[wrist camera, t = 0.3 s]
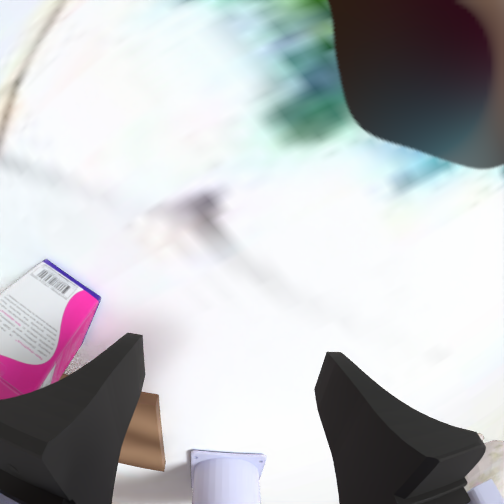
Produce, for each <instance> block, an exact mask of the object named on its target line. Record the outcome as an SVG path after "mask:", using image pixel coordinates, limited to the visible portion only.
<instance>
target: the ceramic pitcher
mask: <svg viewBox="0 0 504 504" xmlns="http://www.w3.org/2000/svg"><path fill="white" fill-rule="evenodd" d="M478 435H479V437H480V438H481V440H482V441H483V439H484V436H483V435H482V434H480V433H478ZM484 444H485V446H486V451H485V454H484V455H483V457H482V458H481V460H480V461H479V462H478V463H477V464H476V466H475V467H474V468H473V469H472V470H471V471H470V472H469V473H468V474H467V475H466V476H465V479H466V480H467V482H468V483H467V485H466V486H465V487H464V488H465V490H466V492H467V491H469V490H470V489H472V488H473V487H475V486H477V485H479V484H481V483H483V482H485V481H487V480H489V479H492V480H493V482H494V484H495V485H496V487H497V489H498V490H499V492H500V494H501V495H502V497H503V499H504V441H497V440H495V441H490V442H487V443H484Z"/></svg>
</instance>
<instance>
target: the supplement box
mask: <svg viewBox="0 0 504 504" xmlns="http://www.w3.org/2000/svg"><path fill="white" fill-rule="evenodd" d="M100 300H101V297H100V296H99V295H97V294H96V293H94V292H93V291H91V290H90V289H88V288H87V287H85V286H84V285H82V284H81V283H80V282H78V281H76V280H75V279H74V278H72V277H71V276H69V275H68V274H66V273H65V272H64V271H62V270H61V269H59V268H58V267H57V266H55V265H54V264H53V263H51V262H50V261H49V260H47V259H45V260H44V261H42V262H41V263H39V264H38V265H37V266H35V267H34V268H33V269H31V270H30V271H29V272H27V273H26V274H25V275H23V276H22V277H21V278H20V279H18V280H17V281H16V282H15V283H13V284H12V285H11V286H10V287H8V288H7V289H6V290H5V291H3V292H2V293H1V294H0V400H1V399H7V398H12V397H16V396H19V395H23V394H26V393H30V392H33V391H35V390H38V389H41V388H43V387H45V386H48V385H50V384H53V383H55V382H57V381H59V379H60V377H61V376H62V374H63V373H64V371H65V369H66V368H67V366H68V365H69V363H70V362H71V360H72V359H73V357H74V355H75V354H76V352H77V351H78V349H79V348H80V346H81V345H82V343H83V340H84V338H85V335H86V333H87V331H88V328H89V326H90V324H91V321H92V319H93V317H94V315H95V312H96V310H97V308H98V305H99V303H100Z"/></svg>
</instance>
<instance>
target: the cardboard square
mask: <svg viewBox="0 0 504 504" xmlns="http://www.w3.org/2000/svg"><path fill="white" fill-rule="evenodd" d="M67 376H69V375H66V374H62V376H61V377H60V379H59V380H61V379H63V378H65V377H67ZM118 463H122V464H127V465H131V466H136V467H141V468H146V469H151V470H157V471H163V472H164V469H165V463H166V461H165V454H164V446H163V437H162V428H161V418H160V406H159V395H158V394H151V393H146V392H141V394H140V398H139V400H138V403H137V406H136V408H135V411H134V414H133V416H132V419H131V421H130V424H129V427H128V429H127V432H126V435H125V438H124V441H123V444H122V447H121V452H120V456H119V461H118Z"/></svg>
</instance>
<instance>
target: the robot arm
mask: <svg viewBox="0 0 504 504" xmlns="http://www.w3.org/2000/svg"><path fill="white" fill-rule="evenodd" d="M144 378H145V367H144V353H143V336H142V335H138V334H132V333H127V334H125V335H124V336H123V337H122V338H120V339H119V340H118V341H117V342H115V343H114V344H113V345H112V346H110V347H109V348H108V349H107V350H105V351H104V352H103V353H101V354H100V355H99V356H97V357H96V358H95V359H93V360H92V361H91V362H89V363H88V364H86V365H85V366H83V367H82V368H80V369H79V370H77V371H75V372H74V373H72V374H70V375H69V376H67V377H65V378H63V379H61V380H59V381H57V382H55V383H53V384H50V385H48V386H45V387H43V388H41V389H38V390H35V391H33V392H30V393H26V394H23V395H19V396H16V397H12V398H7V399H1V400H0V504H112V496H113V489H114V482H115V477H116V471H117V466H118V461H119V456H120V452H121V447H122V444H123V441H124V438H125V435H126V432H127V429H128V427H129V424H130V421H131V419H132V416H133V414H134V411H135V408H136V406H137V403H138V400H139V398H140V394H141V390H142V386H143V382H144ZM315 396H316V403H317V408H318V412H319V416H320V419H321V422H322V425H323V428H324V431H325V434H326V438H327V441H328V444H329V447H330V450H331V453H332V457H333V461H334V467H335V473H336V479H337V486H338V493H339V503H340V504H504V499H503V497H502V495H501V494H500V492H499V490H498V489H497V487H496V485H495V484H494V482H493V480H492V479H489V480H487V481H485V482H483V483H481V484H479V485H477V486H475V487H473V488H472V489H470V490H469V491H467V492H466V490H465V488H464V487H465V486H466V485H467V483H468V482H467V480H466V479H465V476H466V475H467V474H468V473H469V472H470V471H471V470H472V469H473V468H474V467H475V466H476V464H477V463H478V462H479V461H480V460H481V458H482V457H483V455H484V454H485V451H486V446H485V444H484V443H483V441H482V440H481V438H480V437H479V435H478V434H477V433H476V432H474V431H470V430H466V429H462V428H458V427H454V426H451V425H448V424H446V423H443V422H440V421H438V420H435V419H433V418H431V417H429V416H427V415H425V414H423V413H420V412H418V411H417V410H415V409H413V408H411V407H410V406H408V405H406V404H405V403H403V402H401V401H400V400H398V399H397V398H395V397H394V396H393V395H391V394H390V393H389V392H387V391H386V390H385V389H383V388H382V387H381V386H379V385H378V384H377V383H376V382H375V381H373V380H372V379H371V378H370V377H369V376H368V375H366V374H365V373H364V372H363V371H362V370H361V369H360V368H358V367H357V366H356V365H355V364H354V363H353V362H352V361H351V360H350V359H348V358H347V357H346V356H345V355H344V354H342V353H341V352H327V353H326V356H325V359H324V362H323V365H322V368H321V371H320V374H319V377H318V380H317V383H316V386H315ZM265 462H266V455H263V454H236V453H220V452H208V451H198V450H193V451H191V484H192V488H193V496H192V504H261V497H260V485H259V479H260V477H261V474H262V471H263V468H264V465H265Z"/></svg>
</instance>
